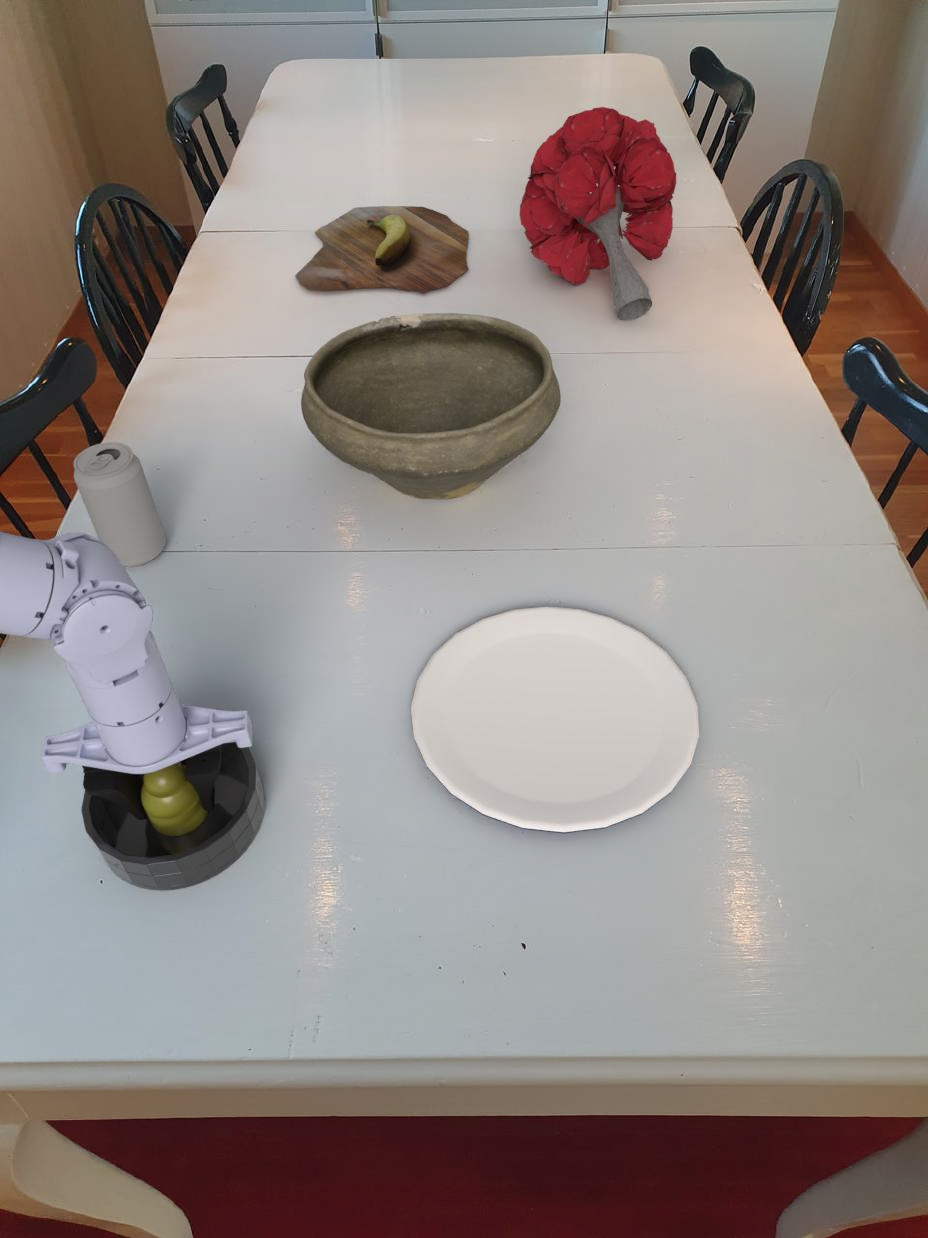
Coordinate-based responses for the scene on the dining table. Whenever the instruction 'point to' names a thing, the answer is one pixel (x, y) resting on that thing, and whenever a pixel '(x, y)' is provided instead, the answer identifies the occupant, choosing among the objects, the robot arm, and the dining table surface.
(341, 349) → the bowl
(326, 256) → the cutting board
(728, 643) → the dining table surface
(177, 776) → the pear
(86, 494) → the beverage can
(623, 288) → the bouquet
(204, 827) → the pan
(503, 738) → the plate
